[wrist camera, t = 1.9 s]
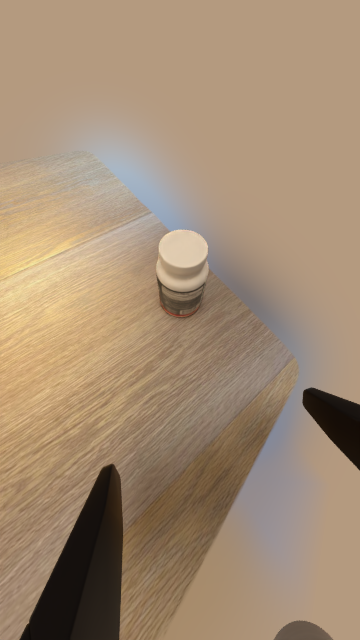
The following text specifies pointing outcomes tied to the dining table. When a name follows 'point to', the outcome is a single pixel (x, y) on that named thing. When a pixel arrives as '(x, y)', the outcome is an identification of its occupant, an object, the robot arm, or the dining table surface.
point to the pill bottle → (182, 272)
